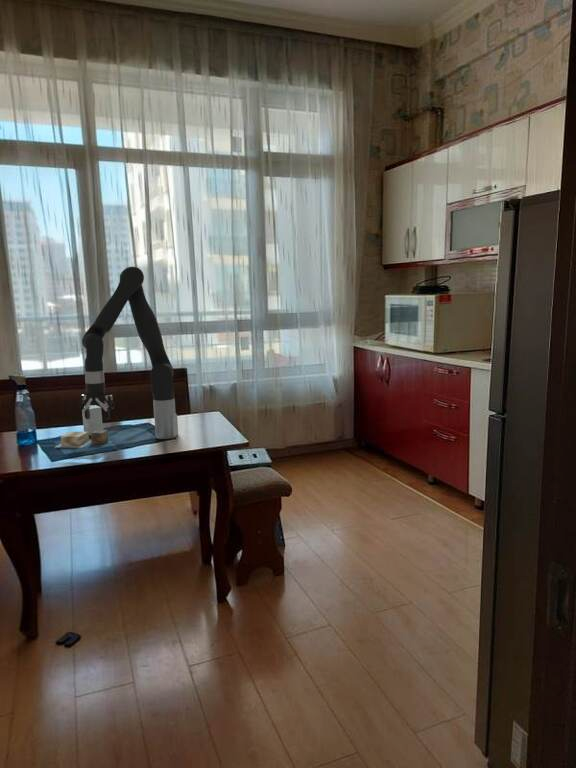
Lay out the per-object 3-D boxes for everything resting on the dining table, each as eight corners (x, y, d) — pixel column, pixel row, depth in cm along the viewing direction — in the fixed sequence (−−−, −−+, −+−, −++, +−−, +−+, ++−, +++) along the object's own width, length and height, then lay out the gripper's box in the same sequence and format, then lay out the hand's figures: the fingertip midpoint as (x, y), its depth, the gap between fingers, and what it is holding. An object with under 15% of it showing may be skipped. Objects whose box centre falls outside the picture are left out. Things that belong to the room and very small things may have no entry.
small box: (103, 435, 234) (101, 407, 232) (89, 437, 230) (87, 409, 228) (97, 431, 240) (95, 404, 238) (83, 434, 237) (81, 406, 234)
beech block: (89, 440, 221) (88, 431, 220) (79, 446, 213) (78, 436, 212) (71, 440, 222) (70, 431, 221) (61, 445, 214) (60, 436, 213)
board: (95, 442, 223) (95, 439, 223) (82, 450, 211) (81, 447, 211) (69, 441, 224) (69, 439, 224) (54, 450, 212) (54, 447, 212)
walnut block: (108, 443, 221) (107, 430, 220) (103, 446, 216) (102, 433, 215) (97, 443, 221) (96, 429, 220) (91, 446, 216) (90, 432, 215)
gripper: (115, 380, 217) (117, 417, 220) (83, 379, 219) (86, 416, 221) (107, 383, 210) (109, 421, 212) (74, 382, 211) (77, 420, 214)
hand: (97, 419), depth 217 cm, fingers open, 8 cm apart
